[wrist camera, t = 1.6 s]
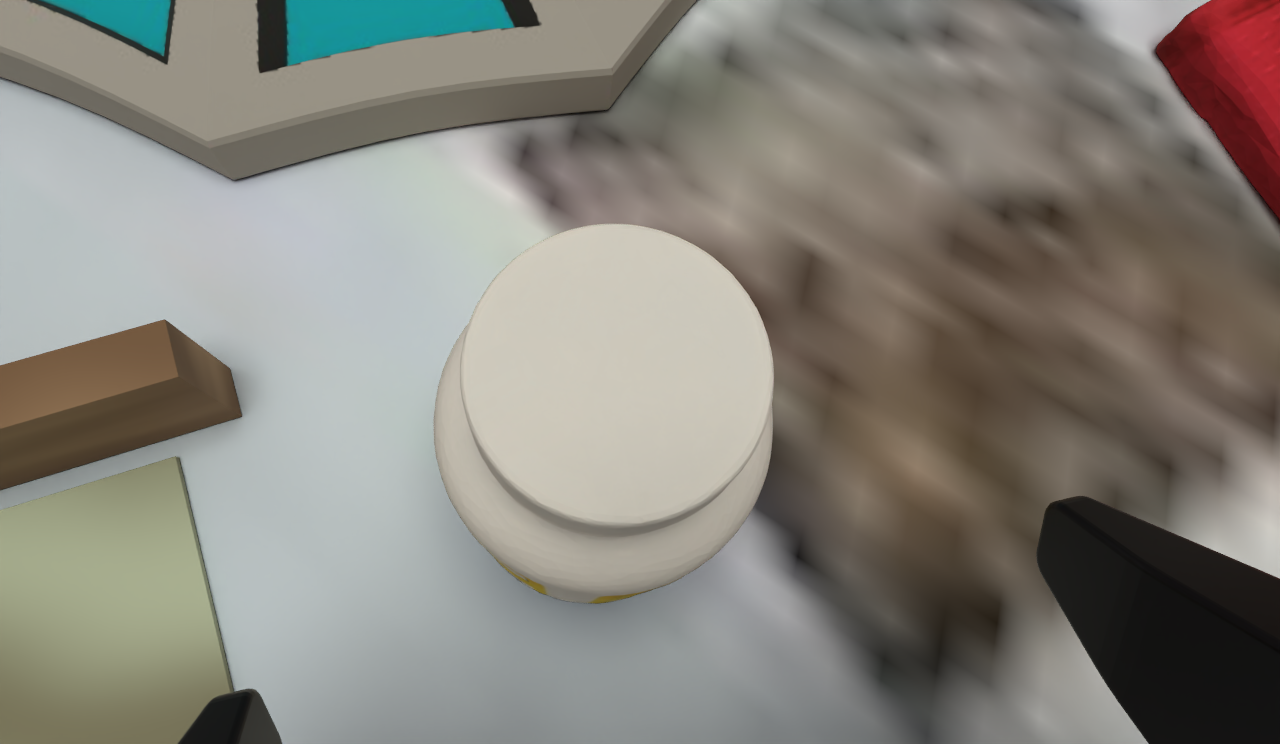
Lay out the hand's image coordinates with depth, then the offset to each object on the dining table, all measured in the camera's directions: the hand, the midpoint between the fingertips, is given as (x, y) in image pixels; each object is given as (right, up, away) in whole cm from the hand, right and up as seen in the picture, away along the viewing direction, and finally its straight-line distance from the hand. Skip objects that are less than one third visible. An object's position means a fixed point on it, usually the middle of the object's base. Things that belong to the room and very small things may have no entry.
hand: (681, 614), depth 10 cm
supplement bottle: (-2, 0, +11) cm, 11 cm away
